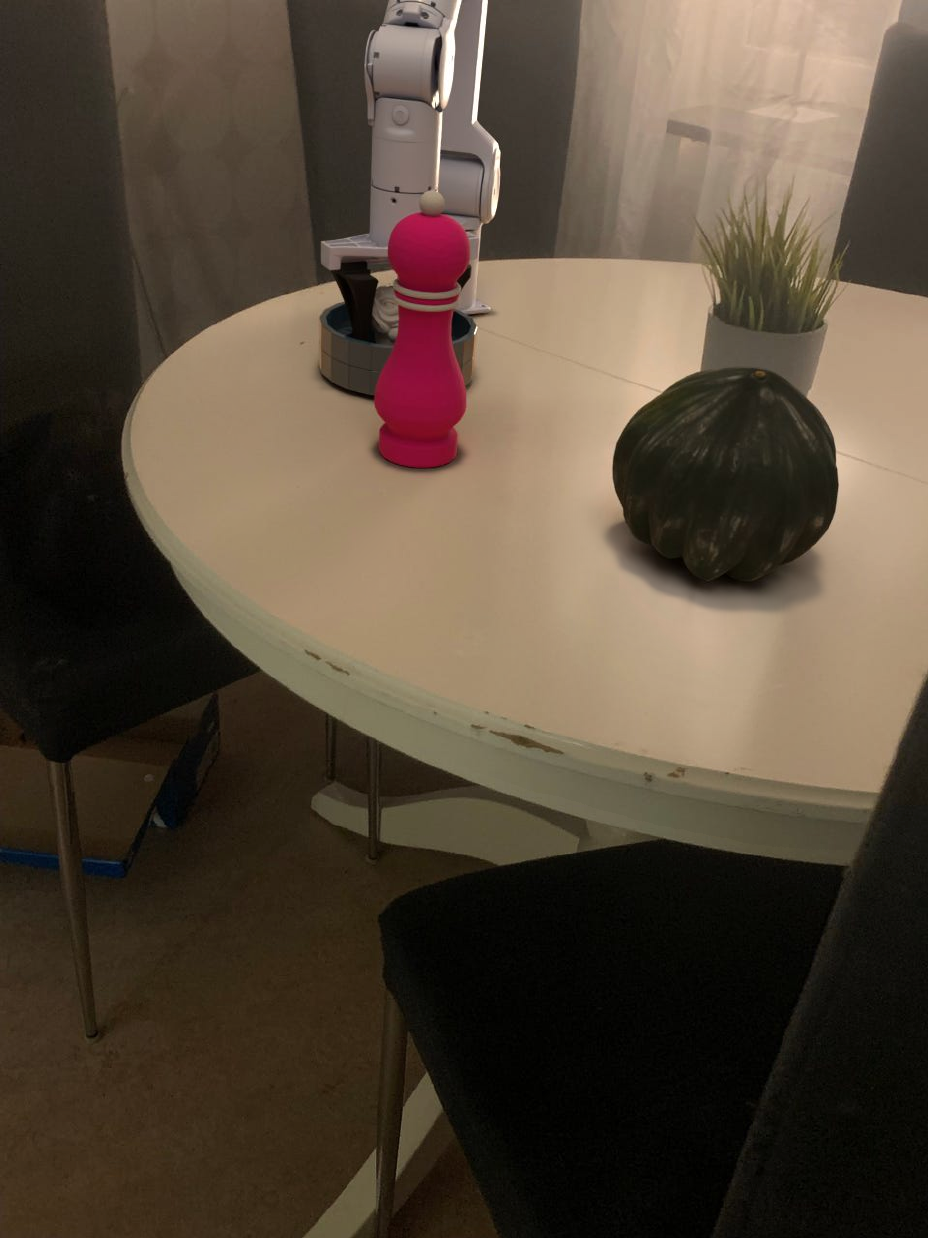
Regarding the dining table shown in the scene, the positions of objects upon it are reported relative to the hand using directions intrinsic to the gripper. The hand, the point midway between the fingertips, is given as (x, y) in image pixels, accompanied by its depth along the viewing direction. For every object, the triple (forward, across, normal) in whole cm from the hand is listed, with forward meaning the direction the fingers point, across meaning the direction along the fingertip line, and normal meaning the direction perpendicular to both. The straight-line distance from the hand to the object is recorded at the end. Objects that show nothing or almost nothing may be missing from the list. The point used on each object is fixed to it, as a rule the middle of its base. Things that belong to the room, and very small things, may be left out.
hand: (397, 341), depth 99 cm
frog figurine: (+2, 0, 0) cm, 2 cm away
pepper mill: (+3, -6, -16) cm, 17 cm away
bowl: (+3, 0, 0) cm, 3 cm away
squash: (+3, +6, -38) cm, 39 cm away
